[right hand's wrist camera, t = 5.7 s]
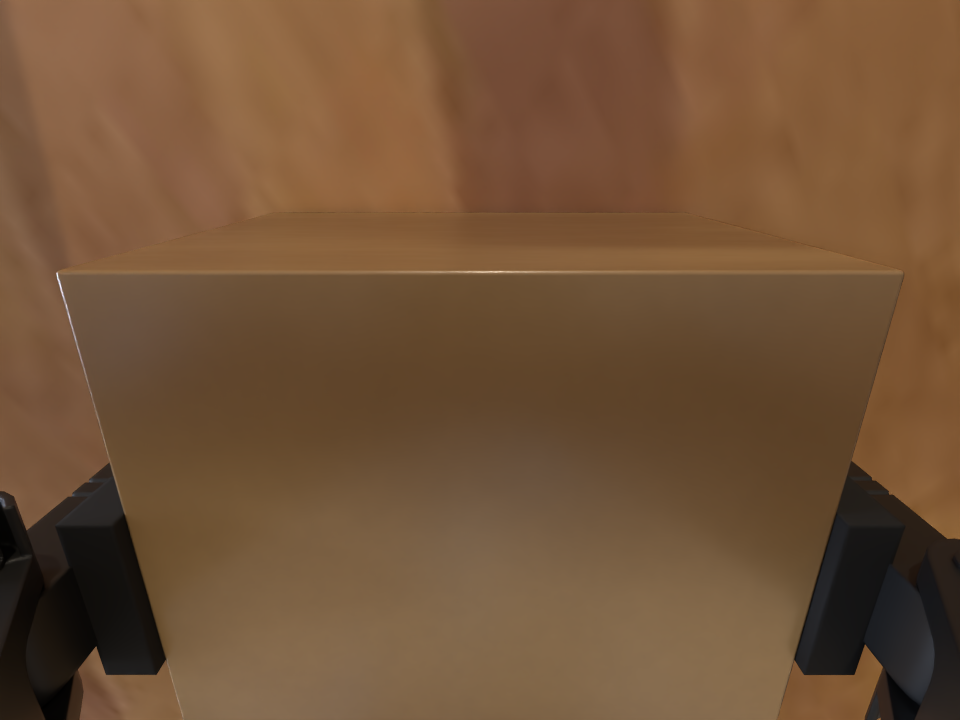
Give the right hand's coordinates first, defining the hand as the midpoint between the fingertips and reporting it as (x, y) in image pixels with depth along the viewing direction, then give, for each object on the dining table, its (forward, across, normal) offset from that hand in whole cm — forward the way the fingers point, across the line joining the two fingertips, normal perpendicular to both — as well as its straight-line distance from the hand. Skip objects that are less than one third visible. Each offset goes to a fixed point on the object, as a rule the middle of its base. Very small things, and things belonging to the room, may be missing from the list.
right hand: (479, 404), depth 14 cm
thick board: (+1, 0, -24) cm, 24 cm away
